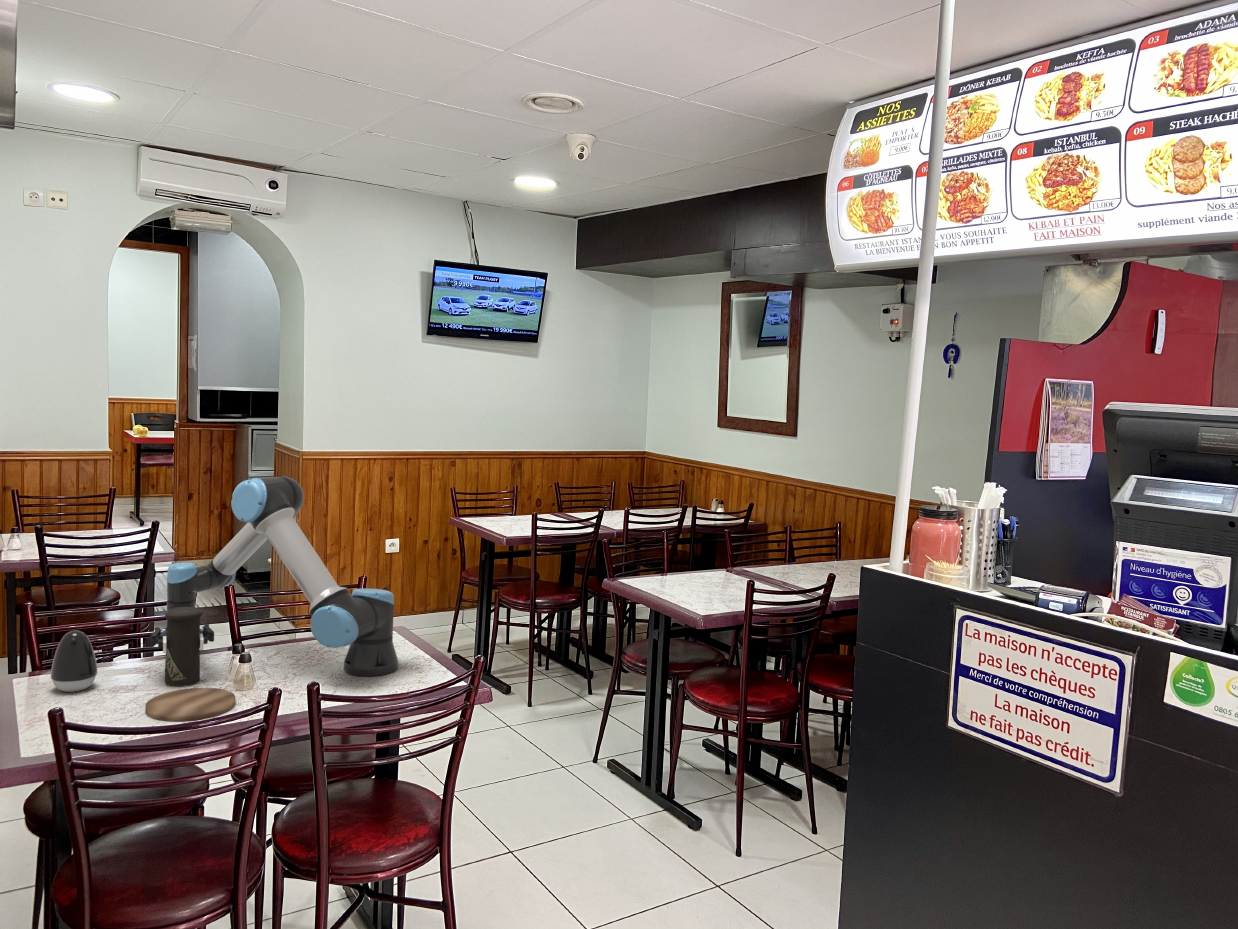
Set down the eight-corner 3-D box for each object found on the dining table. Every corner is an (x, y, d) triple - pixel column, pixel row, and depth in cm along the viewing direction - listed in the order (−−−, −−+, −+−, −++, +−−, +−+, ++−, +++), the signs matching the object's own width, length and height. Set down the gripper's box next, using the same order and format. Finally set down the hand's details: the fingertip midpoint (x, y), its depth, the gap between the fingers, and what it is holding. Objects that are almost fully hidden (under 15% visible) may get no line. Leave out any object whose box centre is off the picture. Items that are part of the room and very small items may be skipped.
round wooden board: (251, 697, 227) (251, 691, 227) (204, 725, 207) (204, 718, 207) (179, 690, 230) (179, 684, 230) (126, 717, 210) (126, 710, 210)
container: (164, 678, 238) (166, 605, 237) (201, 676, 242) (203, 604, 240) (162, 688, 230) (163, 613, 229) (200, 686, 234) (202, 611, 232)
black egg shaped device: (48, 697, 220) (48, 637, 219) (52, 685, 229) (53, 627, 228) (96, 693, 225) (96, 634, 224) (98, 680, 234) (98, 624, 233)
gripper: (221, 635, 256) (226, 657, 236) (139, 641, 247) (137, 664, 226) (222, 609, 256) (227, 629, 236) (140, 614, 246) (138, 635, 226)
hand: (183, 646), depth 231 cm, fingers closed on container, 8 cm apart
